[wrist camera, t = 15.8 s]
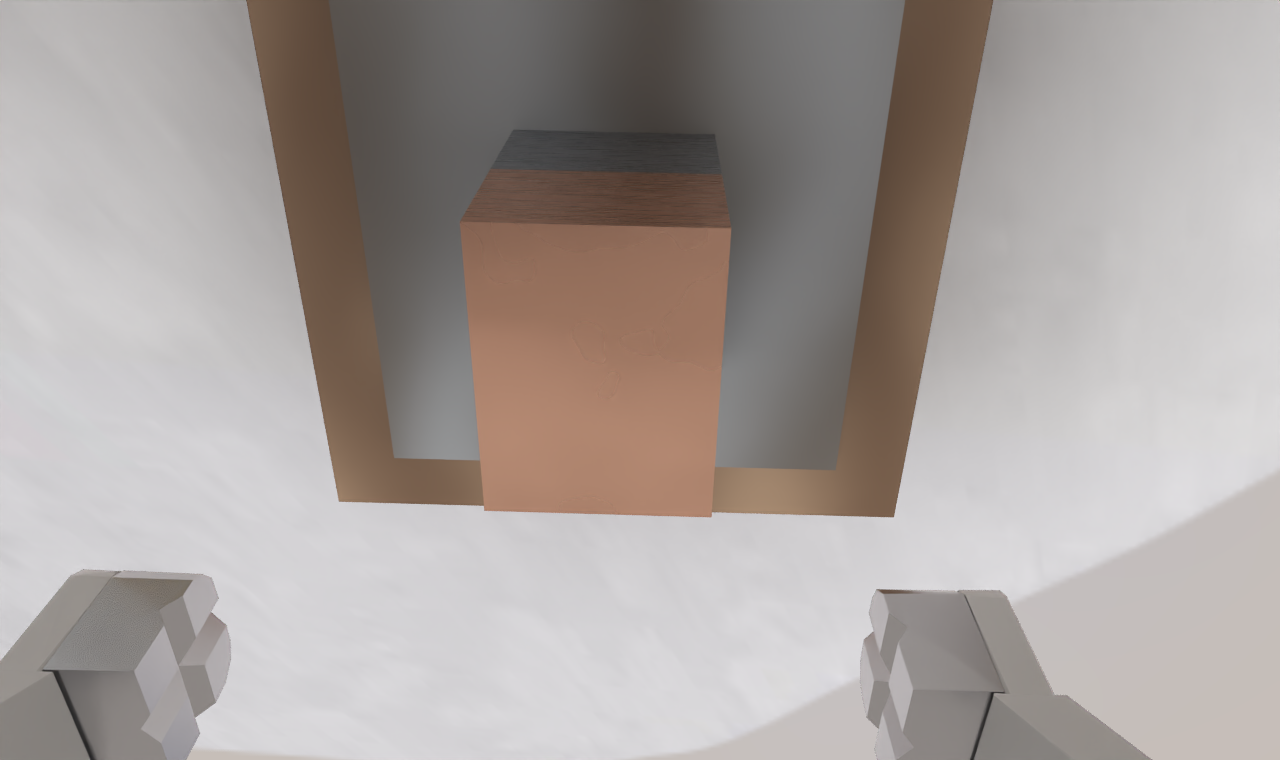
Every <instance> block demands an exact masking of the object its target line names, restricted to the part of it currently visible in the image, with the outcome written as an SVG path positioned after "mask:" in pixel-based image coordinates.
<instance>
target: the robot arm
mask: <svg viewBox="0 0 1280 760" xmlns="http://www.w3.org/2000/svg"><path fill="white" fill-rule="evenodd" d="M218 599H219V598H218V595H217V592H216V589H215V586H214V583H213V580H212V578H211V577H208V576H206V575H203V574H189V573H167V572H146V571H125V570H124V571H105V570H87V569H83V570H81V571H79V572H77V573H75V574H73V575H71V576H70V577H69V578H68V579H67V580H66V582H65V583H64V584H63V585H62V586H61V588H60V589H59V590H58V591H57V593H56V594H55V595H54V596H53V597H52V599H51V600H50V601H49V602H48V604H47V605H46V606H45V607H44V608H43V610H42V611H41V612H40V613H39V615H38V616H37V617H36V618H35V619H34V621H33V622H32V623H31V624H30V626H29V627H28V628H27V629H26V630H25V632H24V633H23V634H22V635H21V637H20V638H19V639H18V640H17V641H16V643H15V644H14V645H13V646H12V648H11V649H10V650H9V651H8V652H7V654H6V655H5V656H4V657H3V659H2V660H1V661H0V760H186V759H187V757H188V755H189V753H190V751H191V750H192V748H193V746H194V744H195V742H196V740H197V738H198V736H199V734H200V732H199V729H198V725H197V722H196V719H195V717H197V716H198V715H199V714H201V713H202V712H203V711H205V710H206V709H208V708H209V707H210V706H212V705H213V704H215V703H216V701H217V699H218V697H219V695H220V693H221V691H222V689H223V687H224V685H225V683H226V679H227V675H228V670H229V666H230V661H231V642H230V637H229V633H228V629H227V625H226V624H224V623H223V622H222V621H221V620H220V619H219V618H217V617H216V616H215V615H214V614H213V613H211V611H212V609H213V607H214V606H215V604H216V602H217V600H218ZM869 616H870V619H871V623H872V627H873V630H874V631H873V632H872V633H871V634H870V635H869V636H868V637H867V638H865V639H864V641H863V647H862V654H861V660H860V684H861V691H862V699H863V704H864V708H865V712H866V717H867V718H868V719H869V720H870V721H871V722H872V723H873V724H874V725H875V726H876V727H877V728H878V729H879V731H878V735H877V740H876V745H875V753H876V757H877V760H1152V759H1150V758H1149V757H1148V756H1146V755H1145V754H1144V753H1143V752H1141V751H1140V750H1139V749H1137V748H1136V747H1134V746H1133V745H1132V744H1131V743H1129V742H1128V741H1127V740H1125V739H1124V738H1123V737H1121V736H1120V735H1119V734H1117V733H1116V732H1115V731H1113V730H1112V729H1111V728H1109V727H1108V726H1107V725H1106V724H1104V723H1103V722H1101V721H1100V720H1099V719H1098V718H1096V717H1095V716H1094V715H1092V714H1091V713H1090V712H1088V711H1087V710H1086V709H1084V708H1083V707H1082V706H1081V705H1079V704H1078V703H1077V702H1075V701H1074V700H1073V699H1071V698H1070V697H1069V696H1067V695H1054V692H1053V690H1052V688H1051V686H1050V684H1049V682H1048V680H1047V678H1046V676H1045V674H1044V672H1043V670H1042V668H1041V666H1040V664H1039V662H1038V660H1037V658H1036V656H1035V653H1034V651H1033V650H1032V647H1031V646H1030V643H1029V641H1028V639H1027V637H1026V635H1025V633H1024V631H1023V629H1022V627H1021V625H1020V623H1019V621H1018V619H1017V617H1016V615H1015V613H1014V610H1013V609H1012V606H1011V604H1010V602H1009V600H1008V598H1007V596H1006V595H1004V594H1003V593H1002V592H1001V591H1000V590H959V591H948V590H880V589H876V591H875V593H874V595H873V597H872V601H871V605H870V610H869Z"/></svg>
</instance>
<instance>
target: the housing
mask: <svg viewBox="0 0 1280 760" xmlns="http://www.w3.org/2000/svg"><path fill="white" fill-rule="evenodd" d="M460 231H461V243H462V254H463V266H464V278H465V289H466V301H467V313H468V324H469V336H470V348H471V359H472V371H473V383H474V394H475V406H476V418H477V429H478V441H479V453H480V464H481V476H482V488H483V499H484V511H514V512H549V513H583V514H617V515H651V516H685V517H711V516H712V502H713V487H714V473H715V458H716V444H717V429H718V415H719V400H720V386H721V371H722V357H723V342H724V328H725V313H726V299H727V284H728V270H729V255H730V241H731V224H730V218H729V212H728V206H727V201H726V195H725V189H724V183H723V178H722V172H721V166H720V161H719V155H718V149H717V143H716V138H715V134H680V133H637V132H593V131H549V130H513V131H512V132H511V134H510V136H509V138H508V139H507V141H506V143H505V145H504V146H503V148H502V150H501V151H500V153H499V155H498V157H497V158H496V160H495V162H494V164H493V165H492V167H491V169H490V170H489V172H488V174H487V176H486V177H485V179H484V181H483V183H482V184H481V186H480V188H479V189H478V191H477V193H476V195H475V196H474V198H473V200H472V201H471V203H470V205H469V207H468V208H467V210H466V212H465V214H464V215H463V217H462V219H461V220H460Z"/></svg>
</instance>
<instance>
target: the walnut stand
mask: <svg viewBox="0 0 1280 760" xmlns="http://www.w3.org/2000/svg"><path fill="white" fill-rule="evenodd" d="M246 1H247V6H248V12H249V17H250V23H251V28H252V33H253V39H254V44H255V50H256V55H257V61H258V66H259V71H260V77H261V82H262V88H263V93H264V98H265V104H266V109H267V115H268V120H269V125H270V131H271V136H272V142H273V147H274V153H275V158H276V163H277V169H278V174H279V180H280V185H281V190H282V196H283V201H284V207H285V212H286V217H287V223H288V228H289V234H290V239H291V245H292V250H293V255H294V261H295V266H296V272H297V277H298V282H299V288H300V293H301V299H302V304H303V309H304V315H305V320H306V326H307V331H308V337H309V342H310V347H311V353H312V358H313V364H314V369H315V374H316V380H317V385H318V391H319V396H320V401H321V407H322V412H323V418H324V423H325V429H326V434H327V439H328V445H329V450H330V456H331V461H332V466H333V472H334V477H335V483H336V488H337V493H338V499H339V502H373V503H408V504H444V505H479V506H484V499H483V488H482V476H481V464H480V453H479V441H478V429H477V418H476V406H475V394H474V383H473V371H472V359H471V348H470V336H469V324H468V313H467V301H466V289H465V278H464V266H463V254H462V243H461V231H460V220H461V219H462V217H463V215H464V214H465V212H466V210H467V208H468V207H469V205H470V203H471V201H472V200H473V198H474V196H475V195H476V193H477V191H478V189H479V188H480V186H481V184H482V183H483V181H484V179H485V177H486V176H487V174H488V172H489V170H490V169H491V167H492V165H493V164H494V162H495V160H496V158H497V157H498V155H499V153H500V151H501V150H502V148H503V146H504V145H505V143H506V141H507V139H508V138H509V136H510V134H511V132H512V131H513V130H549V131H593V132H637V133H680V134H715V138H716V143H717V149H718V155H719V161H720V166H721V172H722V178H723V183H724V189H725V195H726V201H727V206H728V212H729V218H730V224H731V241H730V255H729V270H728V284H727V299H726V313H725V328H724V342H723V357H722V371H721V386H720V400H719V415H718V429H717V444H716V458H715V473H714V487H713V502H712V512H726V513H761V514H796V515H832V516H867V517H894V513H895V508H896V503H897V498H898V493H899V487H900V482H901V477H902V472H903V467H904V461H905V456H906V451H907V446H908V441H909V435H910V430H911V425H912V420H913V415H914V409H915V404H916V399H917V394H918V389H919V383H920V378H921V373H922V368H923V363H924V358H925V352H926V347H927V342H928V337H929V332H930V326H931V321H932V316H933V311H934V306H935V300H936V295H937V290H938V285H939V280H940V274H941V269H942V264H943V259H944V254H945V248H946V243H947V238H948V233H949V228H950V222H951V217H952V212H953V207H954V202H955V196H956V191H957V186H958V181H959V176H960V170H961V165H962V160H963V155H964V150H965V144H966V139H967V134H968V129H969V124H970V118H971V113H972V108H973V103H974V98H975V92H976V87H977V82H978V77H979V72H980V66H981V61H982V56H983V51H984V46H985V40H986V35H987V30H988V25H989V20H990V15H991V9H992V4H993V0H246Z"/></svg>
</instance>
